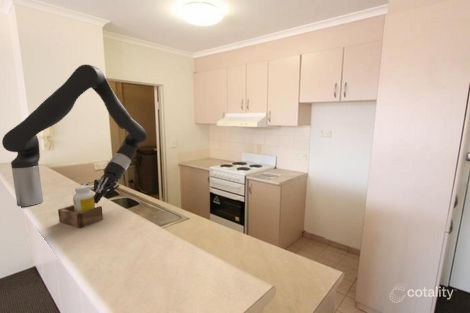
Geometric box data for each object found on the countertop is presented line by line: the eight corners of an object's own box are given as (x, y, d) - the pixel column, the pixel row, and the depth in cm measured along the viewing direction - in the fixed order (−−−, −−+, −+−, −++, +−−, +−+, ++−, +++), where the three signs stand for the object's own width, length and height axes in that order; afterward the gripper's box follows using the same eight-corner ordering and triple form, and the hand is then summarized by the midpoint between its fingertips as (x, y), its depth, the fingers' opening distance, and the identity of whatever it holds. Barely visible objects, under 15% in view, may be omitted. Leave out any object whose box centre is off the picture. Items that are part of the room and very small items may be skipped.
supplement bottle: (100, 216, 96) (96, 184, 94) (87, 223, 89) (84, 189, 87) (84, 215, 96) (80, 184, 95) (71, 222, 90) (67, 189, 88)
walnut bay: (59, 222, 90) (57, 209, 89) (82, 214, 98) (81, 202, 97) (80, 228, 85) (78, 214, 84) (103, 219, 93) (101, 206, 92)
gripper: (101, 160, 105) (75, 195, 95) (123, 162, 99) (98, 200, 90) (113, 169, 110) (90, 204, 101) (134, 172, 105) (112, 209, 95)
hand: (94, 202), depth 95 cm, fingers closed
